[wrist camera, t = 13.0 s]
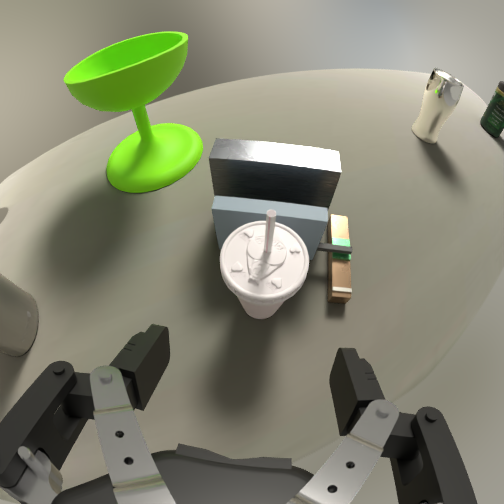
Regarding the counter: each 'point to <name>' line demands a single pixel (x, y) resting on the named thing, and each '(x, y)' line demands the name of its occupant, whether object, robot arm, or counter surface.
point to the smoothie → (264, 265)
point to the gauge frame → (286, 189)
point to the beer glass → (437, 105)
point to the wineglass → (139, 108)
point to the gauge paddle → (291, 215)
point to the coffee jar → (495, 113)
